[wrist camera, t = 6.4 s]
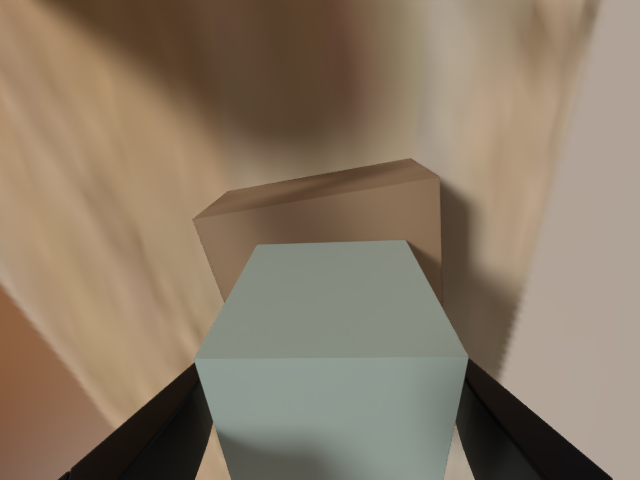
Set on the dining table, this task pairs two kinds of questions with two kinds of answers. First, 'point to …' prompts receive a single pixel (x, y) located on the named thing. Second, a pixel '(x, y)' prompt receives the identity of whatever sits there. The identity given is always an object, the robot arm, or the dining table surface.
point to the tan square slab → (327, 217)
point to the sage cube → (333, 366)
